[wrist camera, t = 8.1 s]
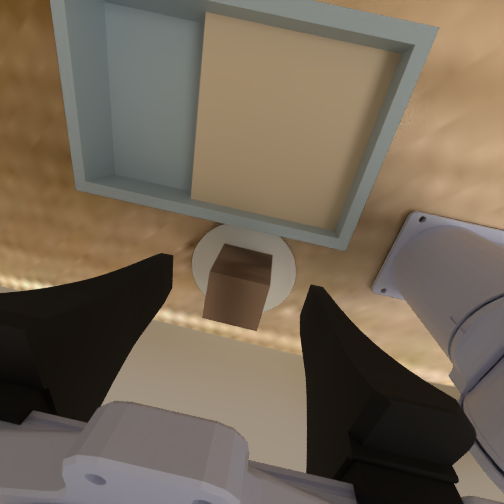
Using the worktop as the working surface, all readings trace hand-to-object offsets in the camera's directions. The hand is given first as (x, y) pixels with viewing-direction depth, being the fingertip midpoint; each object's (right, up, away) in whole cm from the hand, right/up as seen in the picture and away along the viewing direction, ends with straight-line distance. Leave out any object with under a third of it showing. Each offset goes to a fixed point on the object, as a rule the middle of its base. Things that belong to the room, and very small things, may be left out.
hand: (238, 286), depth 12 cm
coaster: (0, 0, +11) cm, 11 cm away
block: (0, 0, +10) cm, 10 cm away
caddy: (-1, +11, +6) cm, 13 cm away
